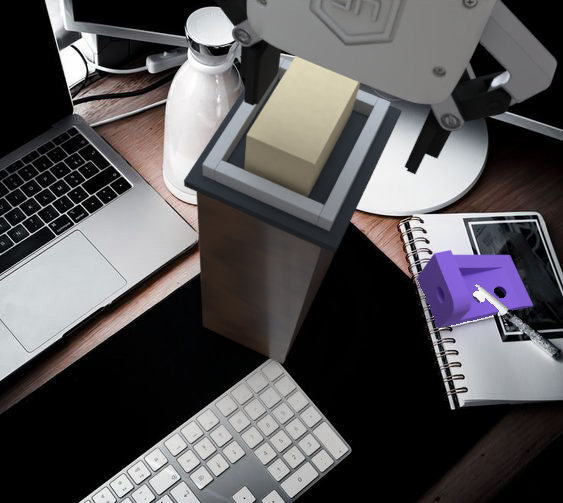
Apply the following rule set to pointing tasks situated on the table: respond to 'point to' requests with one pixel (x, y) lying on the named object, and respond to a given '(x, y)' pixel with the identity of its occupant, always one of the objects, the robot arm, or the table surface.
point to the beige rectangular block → (300, 126)
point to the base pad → (283, 202)
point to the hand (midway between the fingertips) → (338, 120)
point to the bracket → (469, 286)
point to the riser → (255, 278)
